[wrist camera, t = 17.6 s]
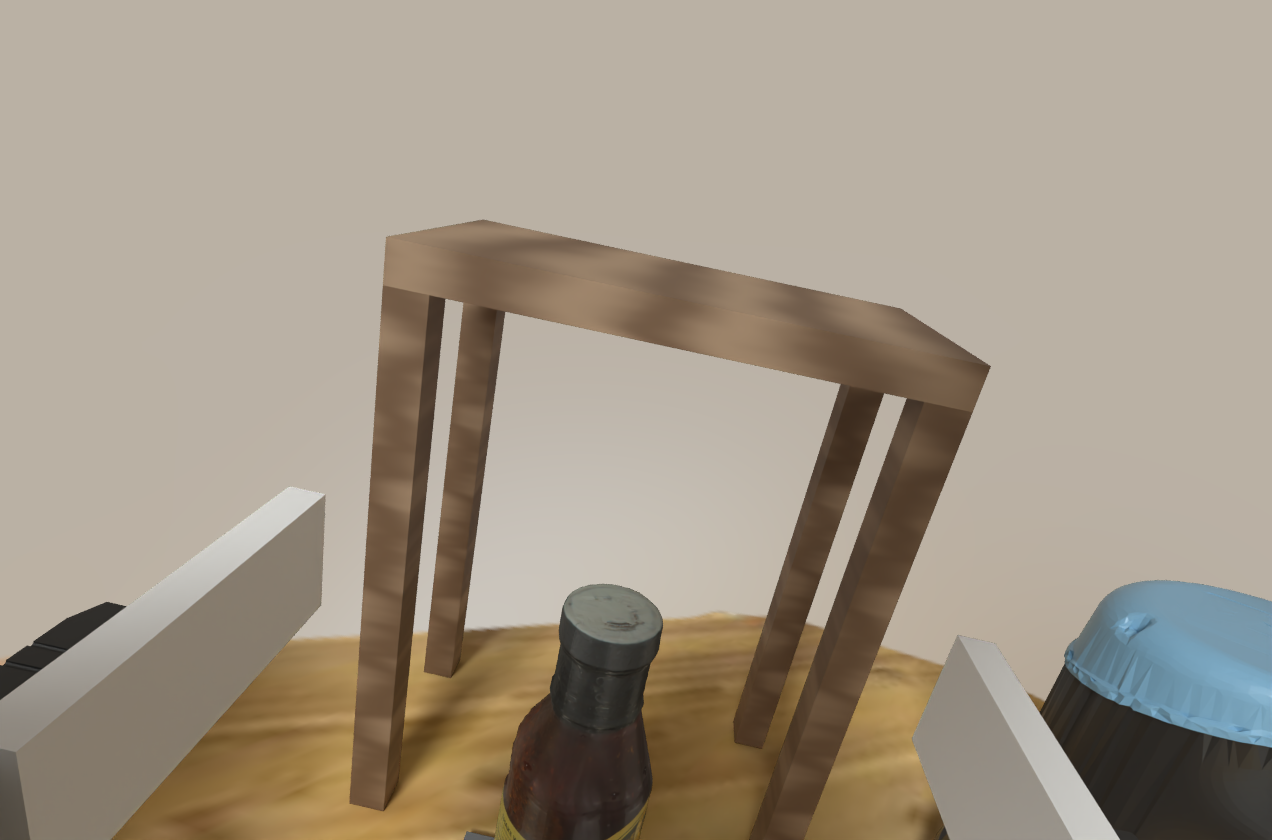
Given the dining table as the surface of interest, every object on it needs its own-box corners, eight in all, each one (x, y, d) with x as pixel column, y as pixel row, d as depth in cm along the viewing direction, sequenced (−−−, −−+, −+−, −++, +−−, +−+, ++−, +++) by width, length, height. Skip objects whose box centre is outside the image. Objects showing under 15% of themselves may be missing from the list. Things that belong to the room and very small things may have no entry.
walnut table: (759, 727, 50) (901, 308, 39) (778, 902, 38) (990, 366, 27) (434, 653, 51) (483, 219, 40) (349, 803, 39) (386, 236, 28)
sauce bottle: (576, 1066, 29) (669, 701, 22) (447, 1002, 30) (499, 638, 24) (621, 920, 35) (706, 598, 28) (512, 871, 36) (569, 553, 30)
